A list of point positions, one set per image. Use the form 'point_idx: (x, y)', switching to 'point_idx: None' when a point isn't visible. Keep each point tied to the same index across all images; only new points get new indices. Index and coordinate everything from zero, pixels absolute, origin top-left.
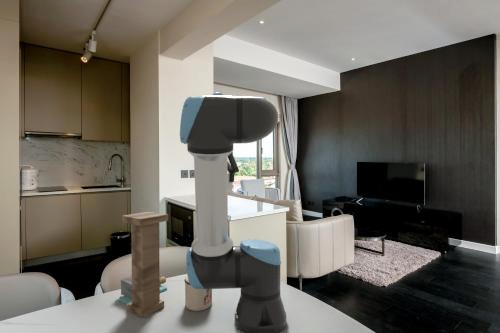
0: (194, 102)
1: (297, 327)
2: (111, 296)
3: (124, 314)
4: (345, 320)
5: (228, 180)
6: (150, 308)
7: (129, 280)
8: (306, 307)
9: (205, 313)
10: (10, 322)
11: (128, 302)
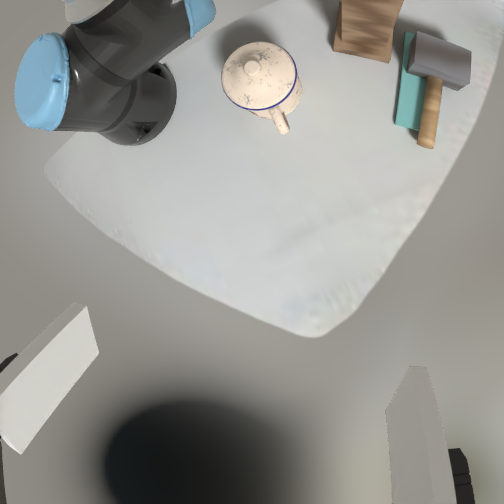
0: None
1: None
2: (472, 58)
3: None
4: (53, 178)
5: (17, 356)
6: (337, 18)
7: (451, 51)
8: (95, 188)
9: None
10: None
11: (411, 33)
